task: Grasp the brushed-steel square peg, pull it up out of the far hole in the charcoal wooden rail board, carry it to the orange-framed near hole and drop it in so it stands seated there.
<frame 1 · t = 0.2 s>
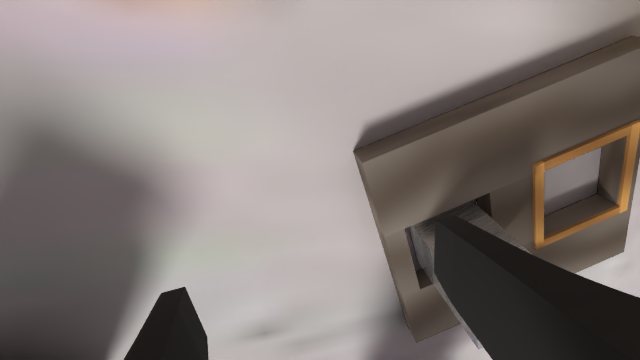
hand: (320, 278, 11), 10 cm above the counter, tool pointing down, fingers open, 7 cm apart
steel peg: (440, 229, 25), resting in rail board
rail board: (502, 203, 25), on the counter
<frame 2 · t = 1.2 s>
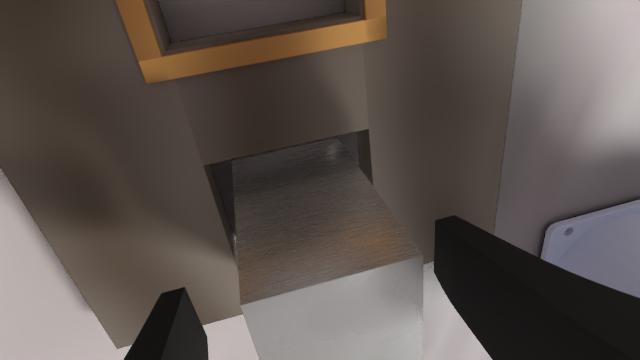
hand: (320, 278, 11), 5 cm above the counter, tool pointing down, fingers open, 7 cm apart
steel peg: (294, 193, 15), resting in rail board
rail board: (272, 82, 13), on the counter
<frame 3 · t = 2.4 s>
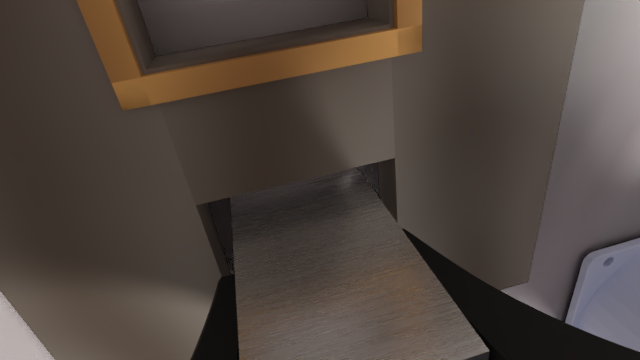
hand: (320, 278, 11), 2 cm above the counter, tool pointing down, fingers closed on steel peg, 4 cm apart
steel peg: (303, 228, 13), resting in rail board, touching gripper
rail board: (278, 102, 10), on the counter
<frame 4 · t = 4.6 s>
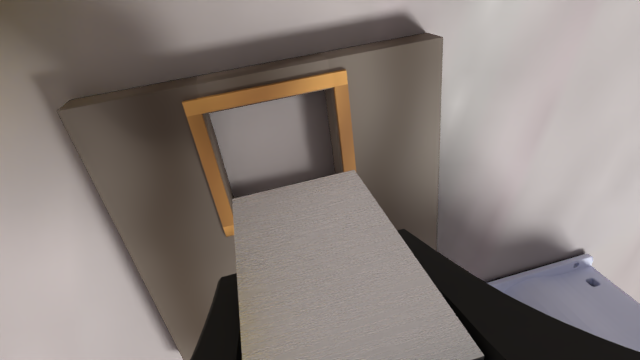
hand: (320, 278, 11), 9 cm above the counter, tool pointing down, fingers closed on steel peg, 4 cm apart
steel peg: (304, 233, 13), point 7 cm above the counter, touching gripper
rail board: (292, 218, 21), on the counter
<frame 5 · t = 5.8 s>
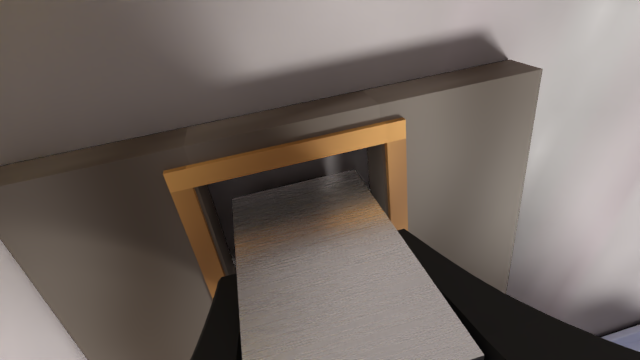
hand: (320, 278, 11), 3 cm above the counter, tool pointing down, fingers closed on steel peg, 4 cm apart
steel peg: (304, 232, 13), point 1 cm above the counter, touching gripper
rail board: (315, 299, 16), on the counter
when the fingers open (3 cm above the counter, at t = 6.6 s): steel peg stays where it is, resting in rail board.
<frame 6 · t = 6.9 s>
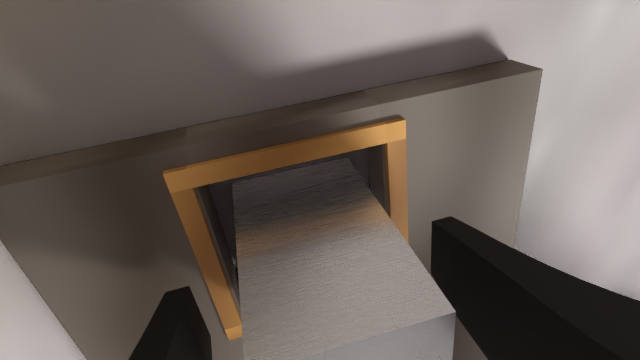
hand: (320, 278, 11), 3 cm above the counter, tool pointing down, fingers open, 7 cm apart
steel peg: (299, 217, 14), resting in rail board
rail board: (315, 299, 16), on the counter
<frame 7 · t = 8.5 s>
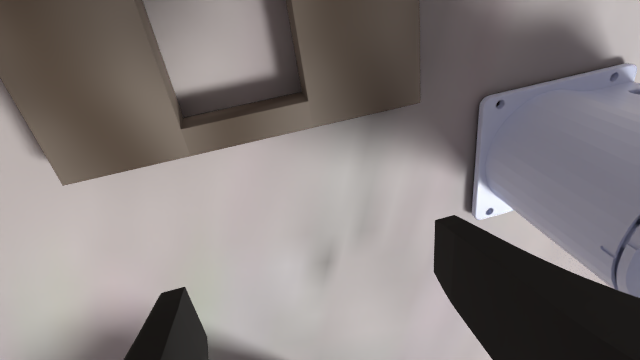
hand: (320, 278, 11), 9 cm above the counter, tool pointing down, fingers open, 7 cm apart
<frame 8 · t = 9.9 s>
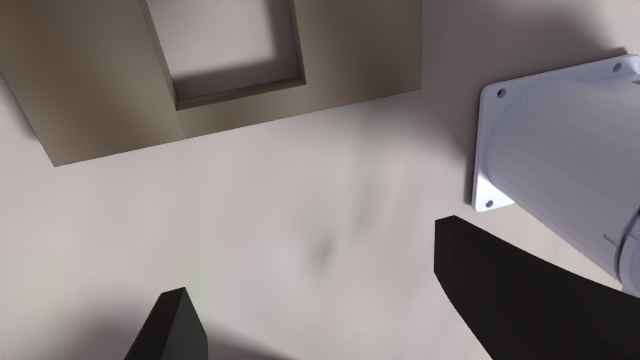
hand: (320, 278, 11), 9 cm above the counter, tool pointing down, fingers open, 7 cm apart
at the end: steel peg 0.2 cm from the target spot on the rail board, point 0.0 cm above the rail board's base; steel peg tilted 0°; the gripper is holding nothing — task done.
